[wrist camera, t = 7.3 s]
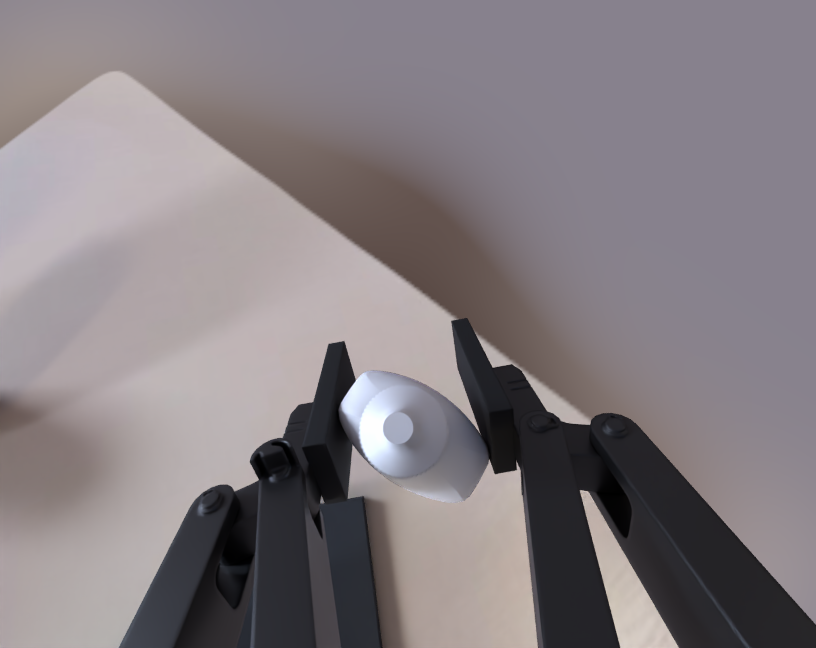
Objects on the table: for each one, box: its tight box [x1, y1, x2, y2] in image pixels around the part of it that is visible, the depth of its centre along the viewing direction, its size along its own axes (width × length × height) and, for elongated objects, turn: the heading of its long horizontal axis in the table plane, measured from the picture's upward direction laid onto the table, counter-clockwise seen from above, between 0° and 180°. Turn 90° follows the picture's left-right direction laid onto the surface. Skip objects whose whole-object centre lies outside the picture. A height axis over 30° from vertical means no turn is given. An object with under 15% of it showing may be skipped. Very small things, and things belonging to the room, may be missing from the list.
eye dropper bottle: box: [338, 370, 490, 503], centre depth 14 cm, size 4×6×12 cm
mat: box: [237, 496, 382, 648], centre depth 24 cm, size 12×12×1 cm
